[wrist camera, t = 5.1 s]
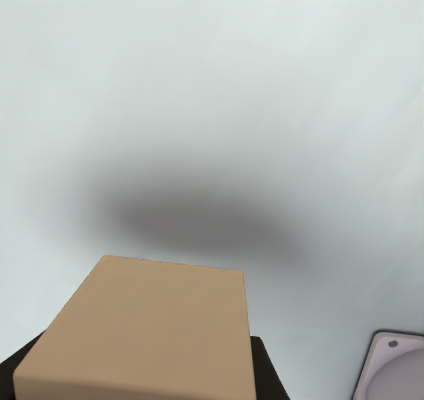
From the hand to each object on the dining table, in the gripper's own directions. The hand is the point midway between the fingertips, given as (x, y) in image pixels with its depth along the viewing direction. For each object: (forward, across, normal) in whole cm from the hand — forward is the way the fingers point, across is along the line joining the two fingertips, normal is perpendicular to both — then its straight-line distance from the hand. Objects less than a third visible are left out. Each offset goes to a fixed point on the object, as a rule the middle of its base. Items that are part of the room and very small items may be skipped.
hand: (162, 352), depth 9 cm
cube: (+1, 0, 0) cm, 1 cm away
